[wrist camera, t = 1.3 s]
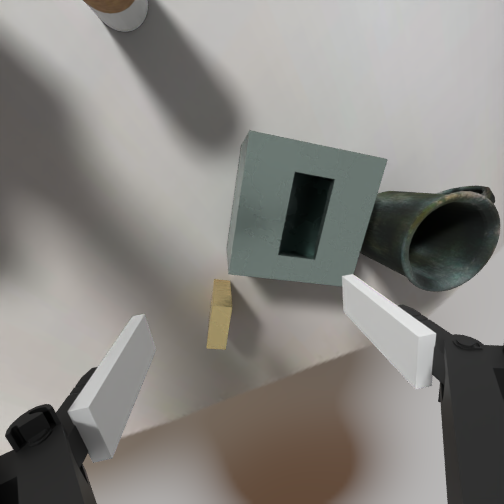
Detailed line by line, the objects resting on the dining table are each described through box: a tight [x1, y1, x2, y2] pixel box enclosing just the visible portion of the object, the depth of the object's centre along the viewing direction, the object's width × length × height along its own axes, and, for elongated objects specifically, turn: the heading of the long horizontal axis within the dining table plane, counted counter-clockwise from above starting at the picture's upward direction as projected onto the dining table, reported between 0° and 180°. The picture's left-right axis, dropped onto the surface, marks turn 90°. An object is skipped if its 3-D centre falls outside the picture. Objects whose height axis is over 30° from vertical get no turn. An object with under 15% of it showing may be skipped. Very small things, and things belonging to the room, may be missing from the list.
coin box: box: [227, 131, 387, 286], centre depth 29 cm, size 14×14×10 cm
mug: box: [360, 186, 500, 291], centre depth 31 cm, size 11×15×12 cm
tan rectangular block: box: [207, 279, 232, 350], centre depth 33 cm, size 2×6×8 cm, turn 170°
